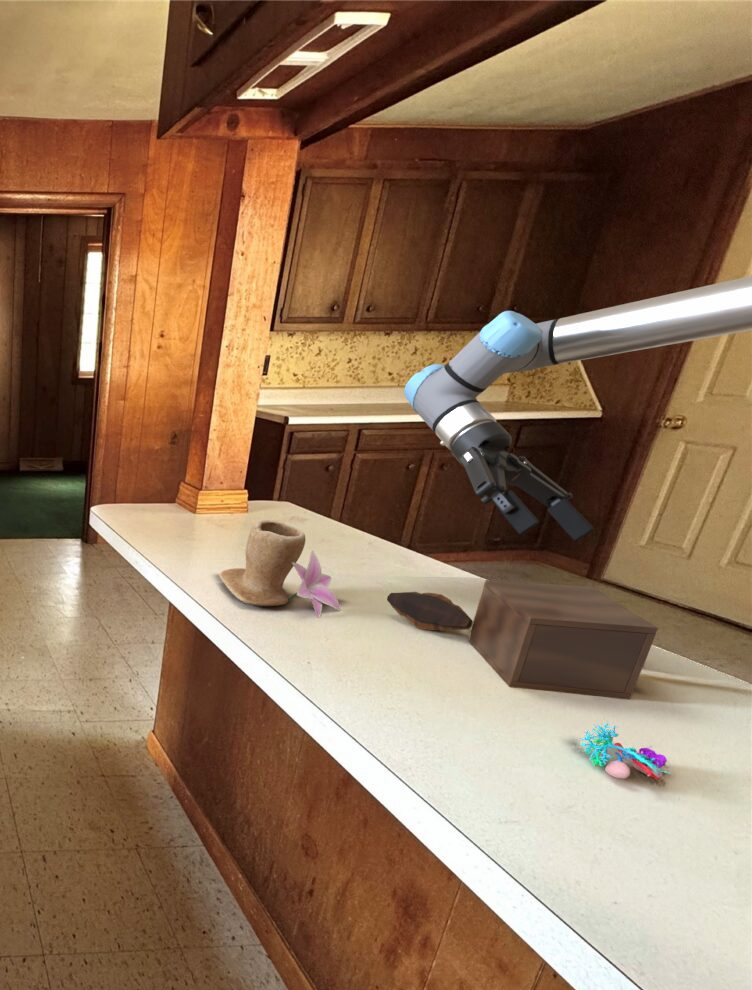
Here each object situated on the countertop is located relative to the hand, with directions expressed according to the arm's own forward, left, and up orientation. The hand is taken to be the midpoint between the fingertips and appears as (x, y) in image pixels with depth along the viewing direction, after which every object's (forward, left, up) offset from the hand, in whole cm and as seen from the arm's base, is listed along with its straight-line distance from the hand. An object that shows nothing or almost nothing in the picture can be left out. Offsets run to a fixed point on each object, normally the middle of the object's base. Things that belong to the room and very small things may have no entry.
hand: (558, 532), depth 100 cm
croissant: (+14, 0, -15) cm, 20 cm away
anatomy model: (-3, +37, -19) cm, 42 cm away
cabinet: (-1, +9, -19) cm, 21 cm away
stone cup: (+40, -6, -19) cm, 45 cm away
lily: (+31, -3, -19) cm, 36 cm away
